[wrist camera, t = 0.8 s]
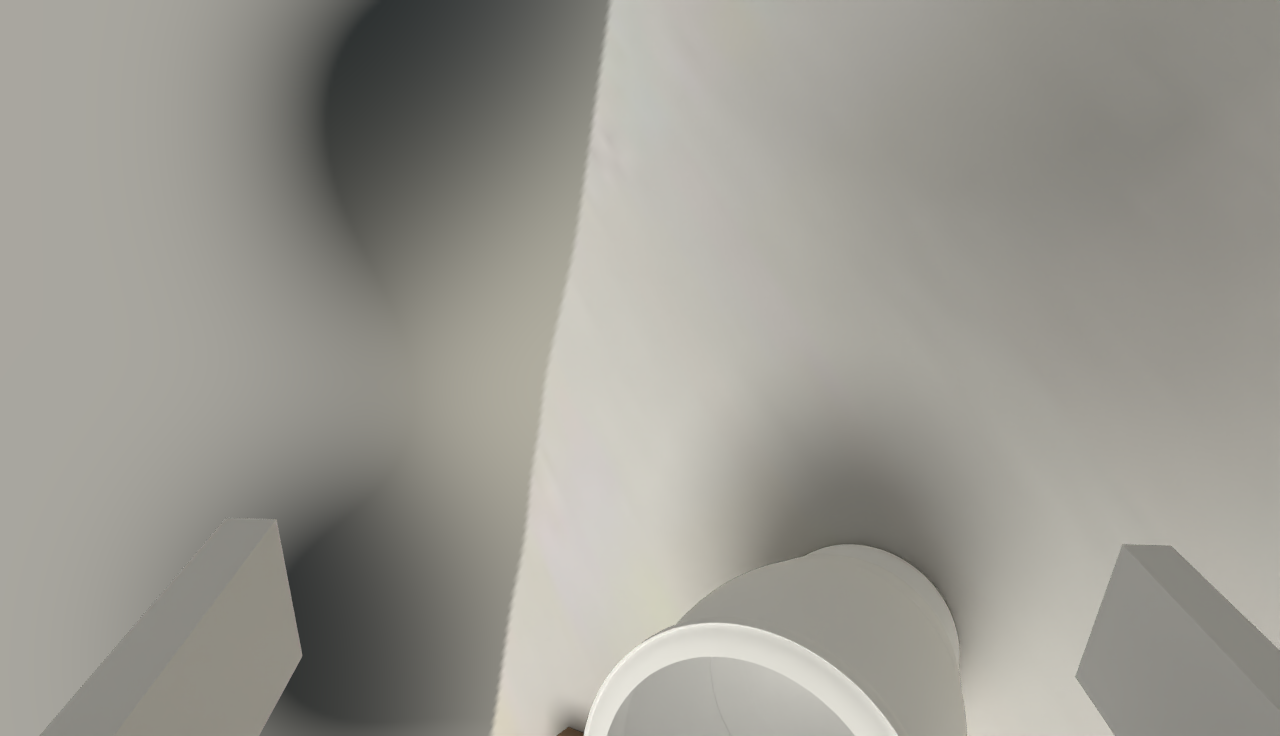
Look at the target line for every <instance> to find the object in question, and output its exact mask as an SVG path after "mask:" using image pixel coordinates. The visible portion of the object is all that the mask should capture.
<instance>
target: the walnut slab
mask: <svg viewBox="0 0 1280 736" xmlns="http://www.w3.org/2000/svg"><path fill="white" fill-rule="evenodd" d="M557 736H584V733H582V732H580V731H577V730H574V729H572V728H569V727H568V728H566V729H565V730H564V731H562V732H561V733H560V734H558V735H557Z"/></svg>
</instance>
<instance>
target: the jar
mask: <svg viewBox="0 0 1280 736" xmlns="http://www.w3.org/2000/svg"><path fill="white" fill-rule="evenodd" d="M959 658H960V651H959V640H958V634H957V630H956V626H955V623H954V620H953V618H952V615H951V613H950V611H949V609H948V607H947V605H946V603H945V601H944V599H943V598H942V596H941V595H940V593H939V592H938V591H937V589H936V588H935V587H934V586H933V584H932V583H931V582H930V581H929V580H928V579H927V578H926V577H925V576H924V575H923V574H922V573H921V572H920V571H918V570H917V569H916V568H915V567H913V566H912V565H911V564H909V563H908V562H906V561H904V560H903V559H901V558H899V557H898V556H896V555H893V554H891V553H889V552H886V551H884V550H881V549H878V548H874V547H870V546H865V545H856V544H841V545H833V546H828V547H824V548H821V549H818V550H816V551H813V552H811V553H809V554H807V555H805V556H803V557H798V558H794V559H790V560H787V561H783V562H778V563H774V564H770V565H767V566H763V567H760V568H757V569H755V570H752V571H749V572H747V573H745V574H742V575H740V576H738V577H736V578H734V579H732V580H730V581H729V582H727V583H725V584H724V585H722V586H720V587H719V588H717V589H716V590H714V591H713V592H711V593H710V594H709V595H707V596H706V597H705V598H703V599H702V600H701V601H700V602H698V603H697V604H696V605H695V606H694V607H693V608H692V609H691V610H689V611H688V612H687V613H686V614H685V615H684V616H683V617H682V618H681V619H680V620H679V622H678V623H677V624H676V625H673V626H671V627H668V628H666V629H664V630H662V631H660V632H658V633H656V634H655V635H653V636H651V637H650V638H648V639H646V640H645V641H644V642H642V643H641V644H640V645H638V646H637V647H636V648H634V649H633V650H632V651H631V652H629V653H628V654H627V655H626V656H625V657H624V658H623V659H622V660H621V661H620V662H619V663H618V664H617V665H616V666H615V667H614V669H613V670H612V671H611V672H610V674H609V675H608V676H607V678H606V679H605V681H604V683H603V684H602V686H601V688H600V689H599V691H598V693H597V695H596V697H595V700H594V702H593V704H592V707H591V710H590V713H589V716H588V719H587V723H586V727H585V731H584V736H967V724H966V714H965V706H964V701H963V695H962V686H961V679H960V673H959Z"/></svg>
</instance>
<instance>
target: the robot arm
mask: <svg viewBox="0 0 1280 736" xmlns="http://www.w3.org/2000/svg"><path fill="white" fill-rule="evenodd" d="M301 657H302V652H301V646H300V641H299V636H298V631H297V626H296V620H295V615H294V610H293V605H292V599H291V594H290V589H289V584H288V578H287V573H286V568H285V562H284V557H283V552H282V547H281V541H280V536H279V532H278V526H277V520H276V519H248V518H226V519H225V520H224V521H223V522H222V523H221V525H220V526H219V527H218V528H217V529H216V530H215V531H214V533H213V534H212V535H211V536H210V537H209V539H208V540H207V541H206V542H205V543H204V544H203V545H202V547H201V548H200V549H199V550H198V551H197V552H196V554H195V555H194V556H193V557H192V558H191V559H190V561H189V562H188V563H187V564H186V565H185V566H184V568H183V569H182V570H181V571H180V572H179V573H178V575H177V576H176V577H175V578H174V579H173V580H172V582H171V583H170V584H169V585H168V586H167V587H166V589H165V590H164V591H163V592H162V593H161V594H160V596H159V597H158V598H157V599H156V600H155V601H154V603H153V604H152V605H151V606H150V607H149V608H148V610H147V611H146V612H145V613H144V615H142V617H141V618H140V619H139V620H138V621H137V623H136V624H135V625H134V626H133V627H132V628H131V630H130V631H129V632H128V633H127V634H126V635H125V636H124V638H123V639H122V640H121V641H120V642H119V643H118V645H117V646H116V647H115V648H114V649H113V650H112V652H111V653H110V654H109V655H108V656H107V658H106V659H105V660H104V661H103V662H102V663H101V665H100V666H99V667H98V668H97V669H96V670H95V672H94V673H93V674H92V675H91V676H90V678H89V679H88V680H87V681H86V682H85V683H84V685H82V687H81V688H80V689H79V690H78V691H77V693H76V694H75V695H74V696H73V697H72V699H70V701H69V702H68V703H67V704H66V705H65V707H64V708H63V709H62V710H61V711H60V712H59V713H58V715H57V716H56V717H55V718H54V719H53V721H52V722H51V723H50V724H49V725H48V726H47V727H46V729H45V730H44V731H43V732H42V733H41V734H40V736H259V734H260V733H261V731H262V729H263V727H264V725H265V723H266V722H267V720H268V718H269V716H270V714H271V712H272V711H273V709H274V707H275V705H276V703H277V701H278V700H279V698H280V696H281V694H282V692H283V690H284V689H285V687H286V685H287V683H288V681H289V679H290V677H291V676H292V674H293V672H294V670H295V668H296V666H297V665H298V663H299V661H300V659H301ZM1075 677H1076V679H1077V680H1078V682H1079V683H1080V685H1081V686H1082V688H1083V689H1084V691H1085V692H1086V693H1087V695H1088V696H1089V698H1090V699H1091V701H1092V702H1093V704H1094V705H1095V707H1096V708H1097V710H1098V711H1099V713H1100V714H1101V716H1102V717H1103V719H1104V720H1105V722H1106V723H1107V725H1108V726H1109V727H1110V729H1111V730H1112V732H1113V733H1114V735H1115V736H1280V650H1279V649H1278V648H1276V647H1275V646H1274V645H1273V644H1272V643H1271V642H1270V641H1269V640H1268V639H1267V638H1266V637H1265V636H1264V635H1263V634H1262V633H1261V632H1260V631H1259V630H1258V629H1257V628H1256V627H1255V626H1254V625H1253V624H1252V623H1251V622H1250V621H1248V620H1247V619H1246V618H1245V617H1244V616H1243V615H1242V614H1241V613H1240V612H1239V611H1238V610H1237V609H1236V608H1235V607H1234V606H1233V605H1232V604H1231V603H1230V602H1229V601H1228V600H1227V599H1226V598H1225V597H1224V596H1223V595H1222V594H1221V593H1219V592H1218V591H1217V590H1216V589H1215V588H1214V587H1213V586H1212V585H1211V584H1210V583H1209V582H1208V581H1207V580H1206V579H1205V578H1204V577H1203V576H1202V575H1201V574H1200V573H1199V572H1198V571H1197V570H1196V569H1195V568H1194V567H1193V566H1191V565H1190V564H1189V563H1188V562H1187V561H1186V560H1185V559H1184V558H1183V557H1182V556H1181V555H1180V554H1179V553H1178V552H1177V551H1176V550H1175V549H1174V548H1173V547H1172V546H1161V545H1127V544H1122V547H1121V550H1120V553H1119V555H1118V558H1117V561H1116V564H1115V567H1114V570H1113V572H1112V575H1111V578H1110V581H1109V584H1108V586H1107V589H1106V592H1105V595H1104V598H1103V600H1102V603H1101V606H1100V609H1099V612H1098V614H1097V617H1096V620H1095V623H1094V626H1093V628H1092V631H1091V634H1090V637H1089V640H1088V643H1087V645H1086V648H1085V651H1084V654H1083V657H1082V659H1081V662H1080V665H1079V668H1078V671H1077V673H1076V676H1075Z"/></svg>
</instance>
